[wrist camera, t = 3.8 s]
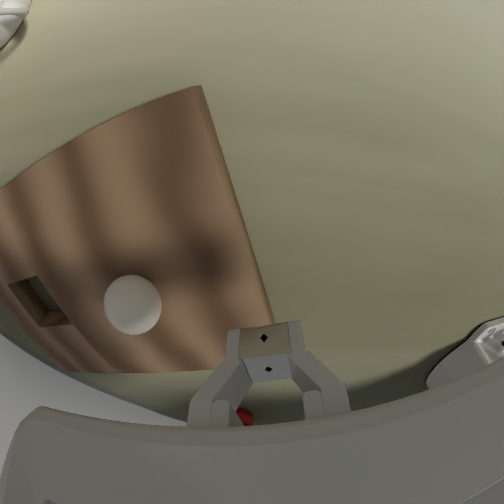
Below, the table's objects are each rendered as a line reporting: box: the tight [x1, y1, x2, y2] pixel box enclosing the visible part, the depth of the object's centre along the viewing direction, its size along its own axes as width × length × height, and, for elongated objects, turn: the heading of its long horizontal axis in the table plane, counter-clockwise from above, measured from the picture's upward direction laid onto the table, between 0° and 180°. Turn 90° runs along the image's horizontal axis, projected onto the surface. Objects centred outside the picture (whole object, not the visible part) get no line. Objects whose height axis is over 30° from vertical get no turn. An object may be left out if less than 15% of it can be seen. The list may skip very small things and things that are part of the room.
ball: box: [104, 275, 162, 335], centre depth 18 cm, size 4×4×4 cm
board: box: [0, 85, 276, 373], centre depth 21 cm, size 28×22×2 cm
